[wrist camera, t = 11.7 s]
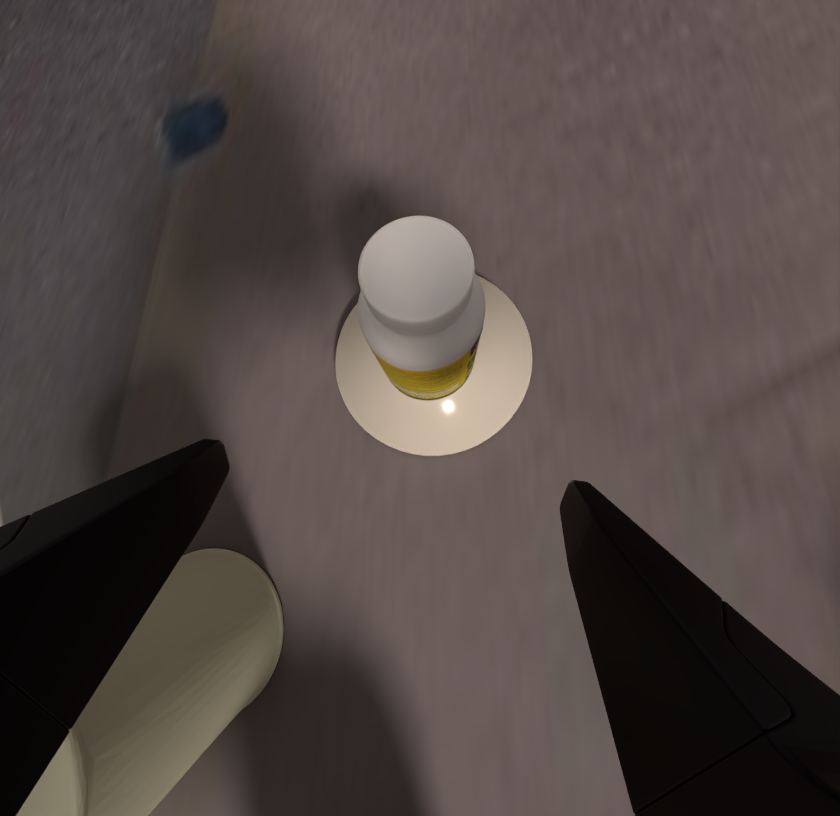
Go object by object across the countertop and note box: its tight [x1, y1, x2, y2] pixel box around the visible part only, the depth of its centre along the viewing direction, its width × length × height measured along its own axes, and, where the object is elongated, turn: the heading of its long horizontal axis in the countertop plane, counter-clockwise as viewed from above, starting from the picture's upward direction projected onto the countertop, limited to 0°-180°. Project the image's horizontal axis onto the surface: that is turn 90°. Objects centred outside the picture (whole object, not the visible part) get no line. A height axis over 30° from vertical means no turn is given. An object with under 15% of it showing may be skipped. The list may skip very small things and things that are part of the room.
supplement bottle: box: [358, 216, 486, 401], centre depth 17 cm, size 5×5×10 cm
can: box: [16, 548, 284, 816], centre depth 15 cm, size 9×9×12 cm
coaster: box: [335, 276, 532, 456], centre depth 22 cm, size 12×12×1 cm
